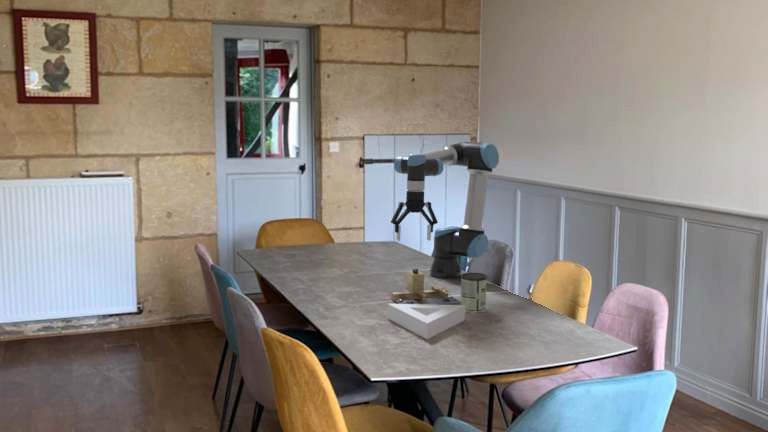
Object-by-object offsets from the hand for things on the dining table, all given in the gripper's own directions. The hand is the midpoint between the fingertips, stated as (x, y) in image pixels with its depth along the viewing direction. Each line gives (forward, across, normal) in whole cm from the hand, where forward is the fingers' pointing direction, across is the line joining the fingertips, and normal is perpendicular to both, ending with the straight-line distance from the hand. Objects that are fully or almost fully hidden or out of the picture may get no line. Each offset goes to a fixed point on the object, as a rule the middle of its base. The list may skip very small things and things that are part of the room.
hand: (413, 240), depth 334 cm
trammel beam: (+24, -2, +10) cm, 26 cm away
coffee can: (+24, -17, +27) cm, 40 cm away
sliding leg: (+23, 0, +10) cm, 25 cm away
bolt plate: (+24, -2, +16) cm, 30 cm away
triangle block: (+26, +11, +41) cm, 50 cm away
